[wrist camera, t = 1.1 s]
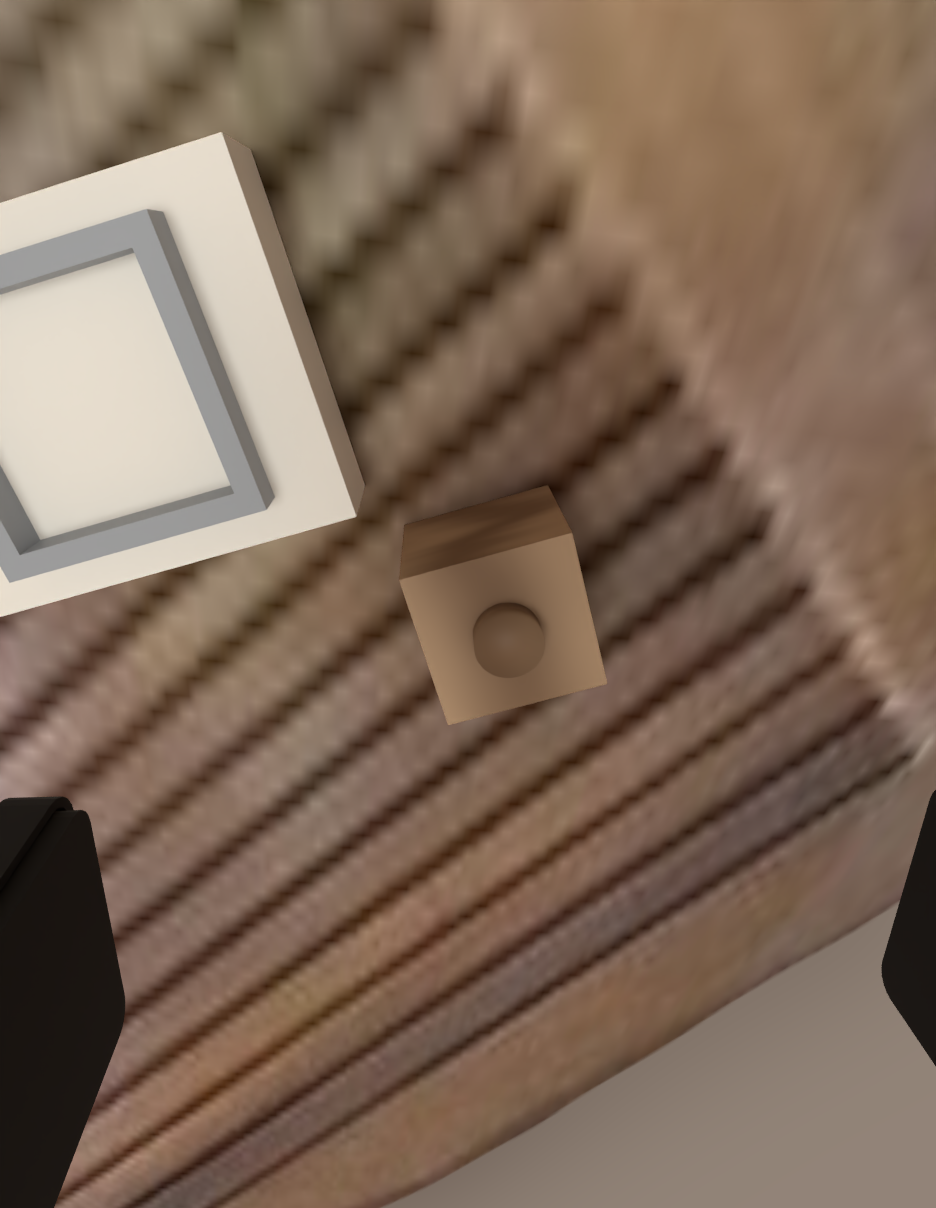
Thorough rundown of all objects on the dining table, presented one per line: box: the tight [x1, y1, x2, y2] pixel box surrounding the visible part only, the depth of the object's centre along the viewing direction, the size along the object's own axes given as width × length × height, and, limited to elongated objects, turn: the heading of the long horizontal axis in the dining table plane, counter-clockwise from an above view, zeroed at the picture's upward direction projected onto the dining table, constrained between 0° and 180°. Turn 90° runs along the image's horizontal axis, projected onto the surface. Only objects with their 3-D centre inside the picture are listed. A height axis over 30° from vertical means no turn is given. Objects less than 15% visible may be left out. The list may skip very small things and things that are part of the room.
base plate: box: [0, 132, 365, 617], centre depth 26 cm, size 14×12×6 cm
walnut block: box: [399, 485, 607, 725], centre depth 30 cm, size 6×6×7 cm
